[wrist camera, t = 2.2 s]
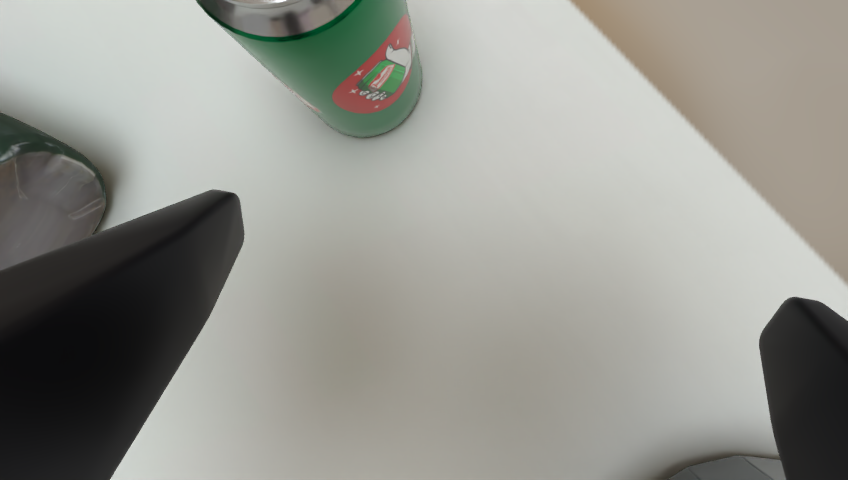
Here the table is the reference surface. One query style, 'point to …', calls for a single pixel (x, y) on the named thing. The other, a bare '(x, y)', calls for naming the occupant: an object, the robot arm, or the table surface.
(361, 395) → the table surface
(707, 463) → the grey ribbed bowl
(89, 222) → the coffee jar
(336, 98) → the soda can
